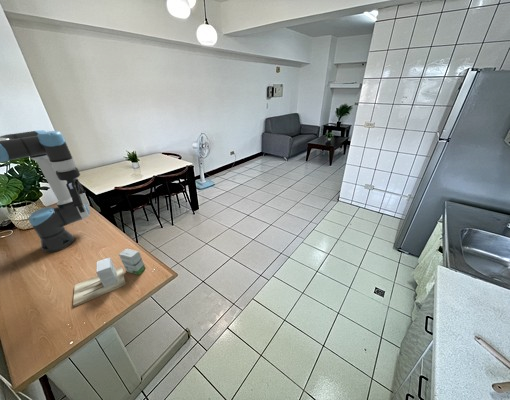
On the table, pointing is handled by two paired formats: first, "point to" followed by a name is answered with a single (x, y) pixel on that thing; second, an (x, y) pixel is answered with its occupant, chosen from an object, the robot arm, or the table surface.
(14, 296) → the table surface
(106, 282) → the small box
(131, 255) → the ink box
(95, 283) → the board
